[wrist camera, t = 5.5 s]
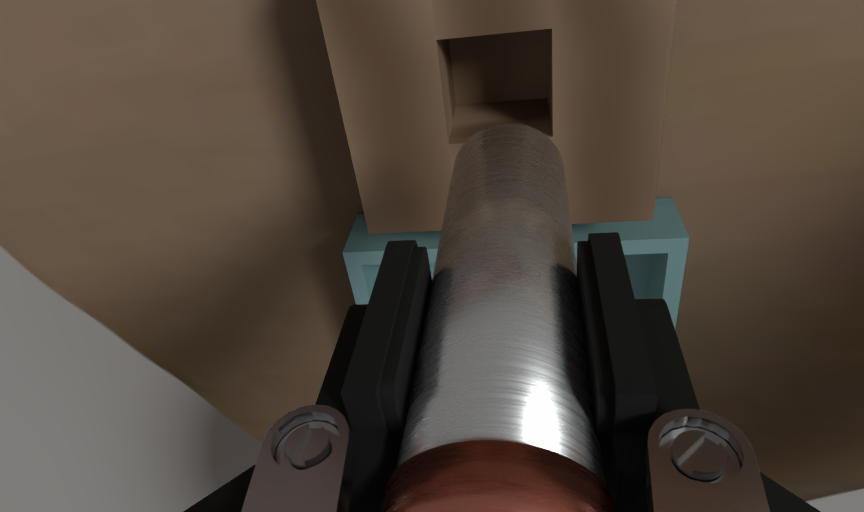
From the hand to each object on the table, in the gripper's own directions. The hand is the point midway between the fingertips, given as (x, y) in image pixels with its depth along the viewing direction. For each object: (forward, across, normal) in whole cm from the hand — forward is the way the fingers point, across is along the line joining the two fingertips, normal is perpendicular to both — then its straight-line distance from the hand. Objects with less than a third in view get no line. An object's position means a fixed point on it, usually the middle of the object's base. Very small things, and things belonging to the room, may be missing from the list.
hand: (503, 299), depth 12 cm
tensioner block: (+17, +1, 0) cm, 17 cm away
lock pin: (+5, 0, 0) cm, 5 cm away
